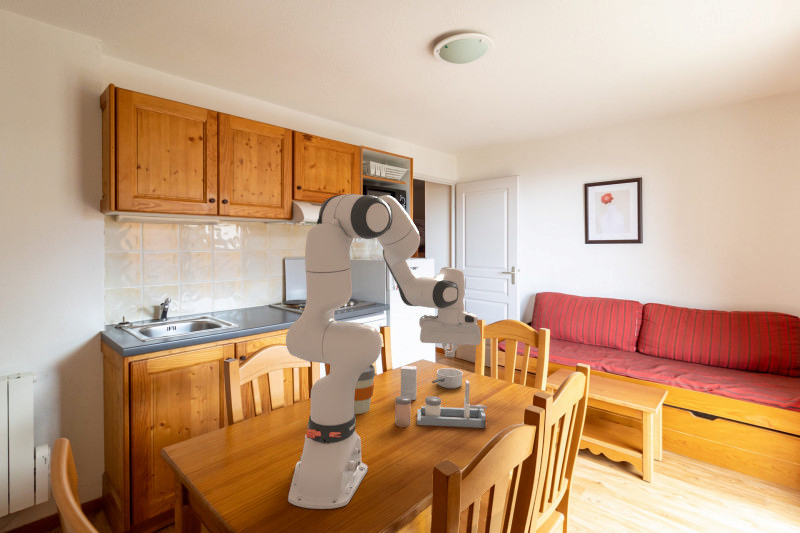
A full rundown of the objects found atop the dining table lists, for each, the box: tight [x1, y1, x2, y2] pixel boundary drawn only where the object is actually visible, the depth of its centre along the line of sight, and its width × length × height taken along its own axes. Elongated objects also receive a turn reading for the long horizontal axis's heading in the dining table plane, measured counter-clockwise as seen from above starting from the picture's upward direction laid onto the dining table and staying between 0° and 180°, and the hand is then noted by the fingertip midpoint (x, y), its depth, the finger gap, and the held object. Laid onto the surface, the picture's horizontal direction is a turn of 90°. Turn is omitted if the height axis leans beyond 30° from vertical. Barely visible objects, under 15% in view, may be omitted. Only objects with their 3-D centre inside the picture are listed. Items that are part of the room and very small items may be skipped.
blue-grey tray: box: [416, 404, 487, 429], centre depth 129 cm, size 9×22×4 cm, turn 86°
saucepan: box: [431, 367, 464, 389], centre depth 160 cm, size 12×20×6 cm, turn 146°
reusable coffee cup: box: [354, 364, 376, 415], centre depth 137 cm, size 13×12×15 cm
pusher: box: [463, 379, 488, 418], centre depth 129 cm, size 6×7×13 cm
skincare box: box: [400, 365, 418, 401], centre depth 148 cm, size 6×4×12 cm
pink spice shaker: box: [394, 395, 412, 428], centre depth 126 cm, size 5×5×8 cm
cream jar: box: [424, 395, 442, 417], centre depth 130 cm, size 5×5×7 cm
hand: (449, 356), depth 128 cm, fingers closed
